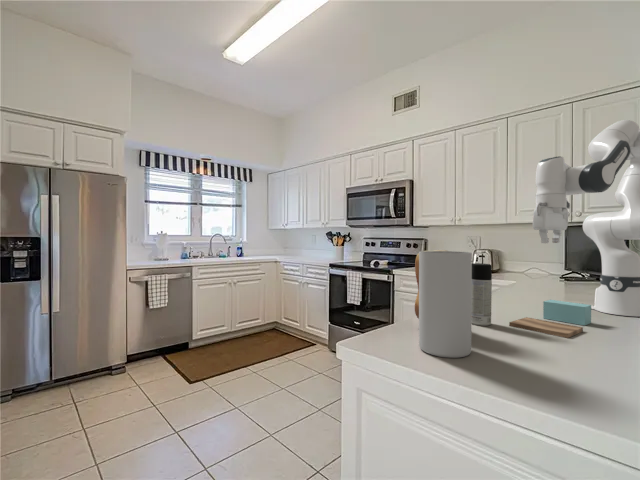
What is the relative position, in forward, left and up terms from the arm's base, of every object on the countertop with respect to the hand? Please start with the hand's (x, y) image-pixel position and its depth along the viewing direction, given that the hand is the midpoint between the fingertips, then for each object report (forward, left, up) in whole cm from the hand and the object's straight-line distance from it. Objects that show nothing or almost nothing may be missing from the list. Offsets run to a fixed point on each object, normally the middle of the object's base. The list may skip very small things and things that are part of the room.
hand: (550, 243), depth 116 cm
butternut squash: (+44, -15, -27) cm, 53 cm away
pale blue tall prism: (-3, +4, -27) cm, 27 cm away
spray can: (+26, -11, -27) cm, 39 cm away
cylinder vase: (+59, -2, -27) cm, 64 cm away
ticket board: (+15, +4, -27) cm, 31 cm away
